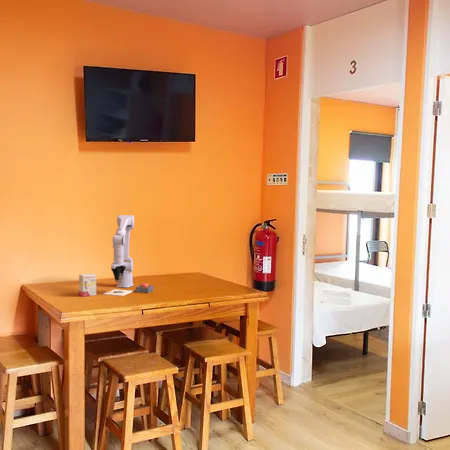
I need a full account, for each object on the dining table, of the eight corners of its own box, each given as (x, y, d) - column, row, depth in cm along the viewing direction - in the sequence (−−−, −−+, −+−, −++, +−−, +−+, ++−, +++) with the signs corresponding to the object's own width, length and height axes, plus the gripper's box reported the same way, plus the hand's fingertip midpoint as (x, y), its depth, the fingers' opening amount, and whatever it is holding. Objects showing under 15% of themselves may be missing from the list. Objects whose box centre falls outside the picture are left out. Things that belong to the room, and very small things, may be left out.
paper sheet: (114, 290, 322) (114, 289, 322) (133, 291, 319) (133, 290, 319) (103, 294, 309) (103, 293, 309) (122, 296, 306) (122, 295, 306)
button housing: (141, 289, 325) (141, 284, 325) (153, 290, 323) (153, 285, 323) (135, 292, 318) (135, 287, 317) (148, 293, 315) (148, 288, 315)
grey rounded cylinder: (116, 281, 316) (117, 272, 315) (122, 281, 315) (122, 273, 314) (114, 282, 312) (114, 273, 312) (119, 282, 311) (119, 274, 311)
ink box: (82, 296, 301) (82, 275, 300) (78, 295, 305) (78, 274, 304) (96, 295, 307) (96, 274, 306) (92, 293, 311) (92, 273, 310)
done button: (142, 287, 323) (142, 283, 323) (149, 287, 322) (149, 283, 322) (139, 288, 319) (139, 284, 318) (146, 289, 317) (146, 284, 317)
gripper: (118, 254, 320) (117, 276, 321) (106, 257, 307) (106, 280, 307) (129, 254, 319) (128, 277, 320) (117, 257, 305) (117, 281, 306)
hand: (118, 279), depth 313 cm, fingers closed on grey rounded cylinder, 4 cm apart
